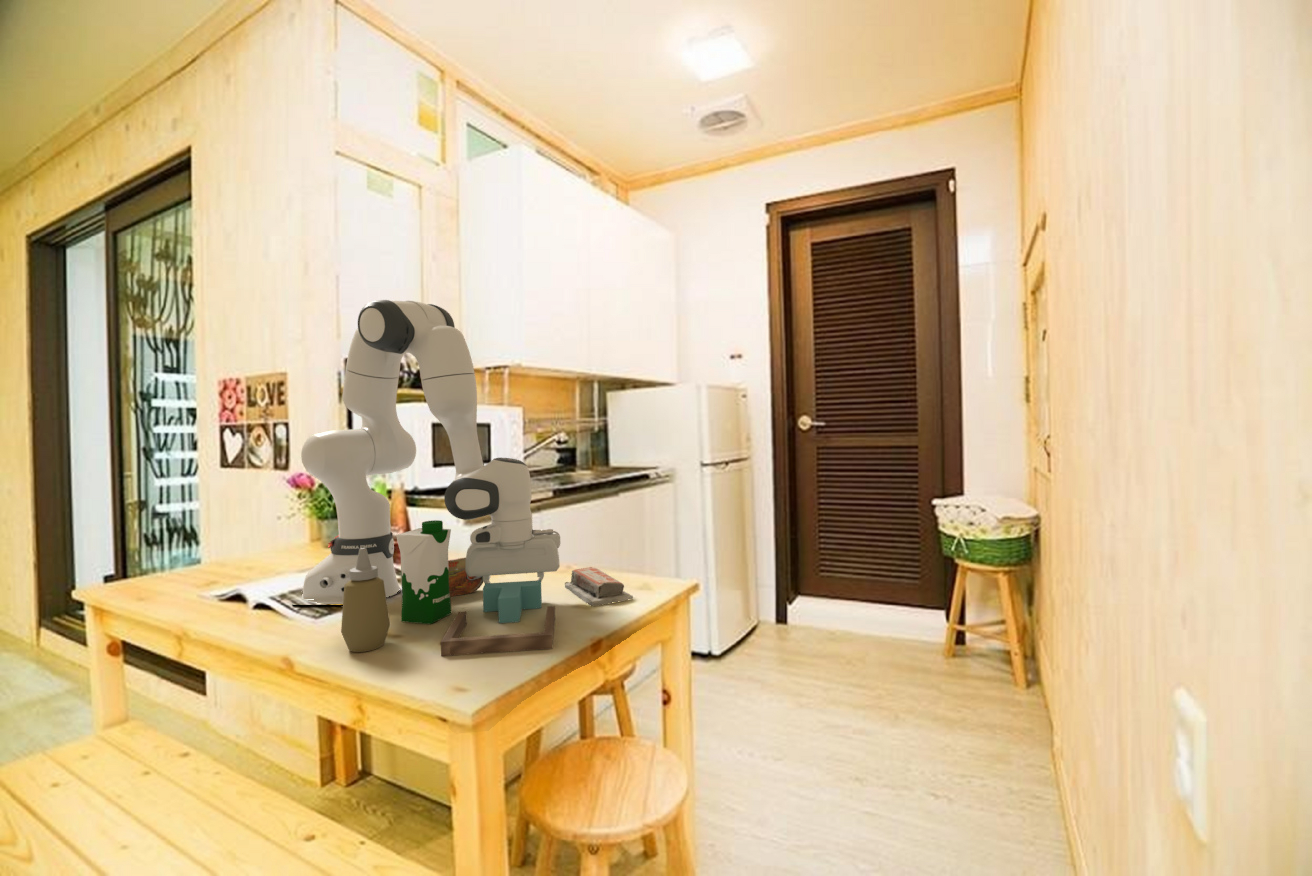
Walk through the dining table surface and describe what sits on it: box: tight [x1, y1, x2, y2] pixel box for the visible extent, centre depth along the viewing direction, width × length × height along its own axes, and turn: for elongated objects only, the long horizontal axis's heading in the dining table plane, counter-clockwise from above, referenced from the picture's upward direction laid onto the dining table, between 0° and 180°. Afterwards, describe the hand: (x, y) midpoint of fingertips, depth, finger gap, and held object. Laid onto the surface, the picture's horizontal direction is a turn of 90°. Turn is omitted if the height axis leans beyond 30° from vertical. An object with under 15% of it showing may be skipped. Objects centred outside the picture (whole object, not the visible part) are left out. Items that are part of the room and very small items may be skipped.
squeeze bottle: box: [340, 548, 391, 653], centre depth 111 cm, size 8×8×18 cm
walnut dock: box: [440, 605, 556, 657], centre depth 116 cm, size 19×16×2 cm
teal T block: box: [482, 579, 543, 624], centre depth 129 cm, size 12×12×5 cm
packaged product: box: [564, 566, 633, 607], centre depth 142 cm, size 18×5×10 cm
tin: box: [448, 556, 484, 598], centre depth 143 cm, size 15×3×8 cm, turn 119°
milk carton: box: [395, 519, 452, 625], centre depth 127 cm, size 9×9×20 cm
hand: (514, 593), depth 136 cm, fingers open, 8 cm apart
